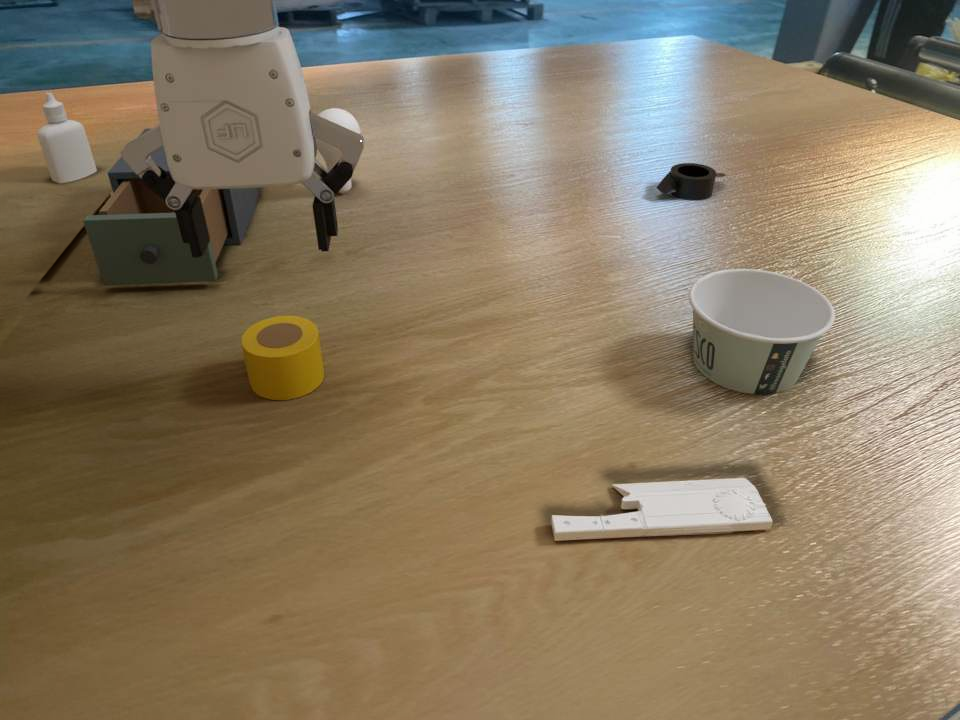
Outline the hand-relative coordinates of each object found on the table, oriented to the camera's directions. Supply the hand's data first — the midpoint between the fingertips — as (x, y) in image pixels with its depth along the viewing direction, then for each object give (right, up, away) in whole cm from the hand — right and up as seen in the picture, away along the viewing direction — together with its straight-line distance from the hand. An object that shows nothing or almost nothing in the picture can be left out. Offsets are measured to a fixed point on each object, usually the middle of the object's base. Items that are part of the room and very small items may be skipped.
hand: (264, 246), depth 60 cm
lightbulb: (-1, +13, +41) cm, 43 cm away
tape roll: (0, -11, +7) cm, 13 cm away
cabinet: (-18, +8, +34) cm, 39 cm away
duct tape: (+45, +13, +41) cm, 62 cm away
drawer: (-17, +3, +24) cm, 29 cm away
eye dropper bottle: (-38, +15, +43) cm, 59 cm away
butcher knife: (+29, -20, -6) cm, 36 cm away
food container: (+41, -9, +9) cm, 43 cm away
